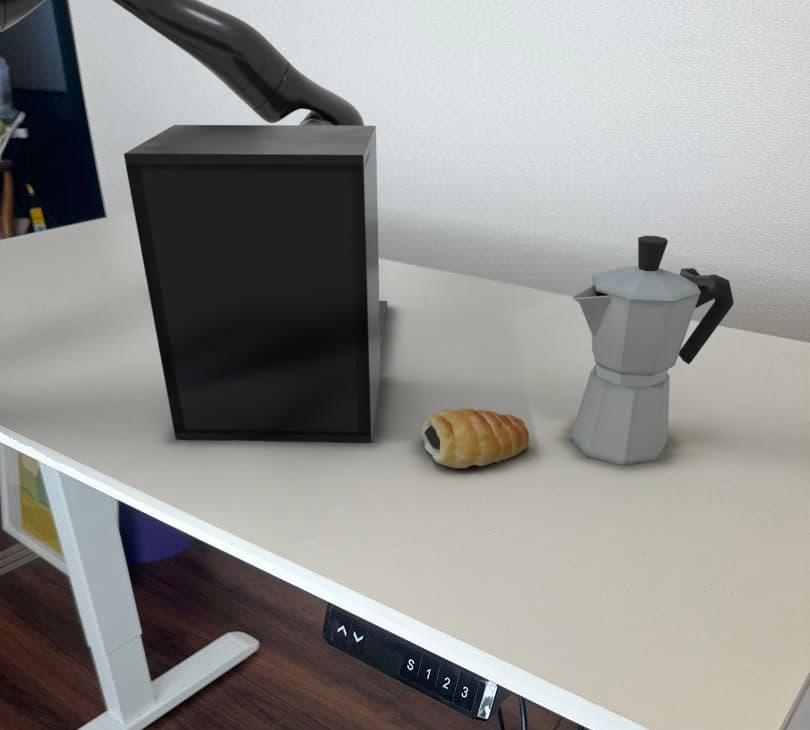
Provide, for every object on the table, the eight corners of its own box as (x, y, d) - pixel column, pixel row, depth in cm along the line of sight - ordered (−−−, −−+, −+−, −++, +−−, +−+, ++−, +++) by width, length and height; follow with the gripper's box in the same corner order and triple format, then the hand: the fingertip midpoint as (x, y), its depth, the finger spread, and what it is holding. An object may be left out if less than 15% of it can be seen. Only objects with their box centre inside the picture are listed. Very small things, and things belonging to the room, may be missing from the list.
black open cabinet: (250, 306, 104) (227, 94, 91) (391, 308, 104) (389, 94, 90) (175, 439, 75) (123, 153, 61) (371, 442, 74) (363, 154, 60)
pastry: (509, 426, 77) (512, 389, 75) (542, 460, 72) (546, 421, 69) (415, 442, 74) (415, 403, 72) (442, 478, 69) (443, 438, 67)
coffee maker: (576, 475, 69) (606, 259, 59) (534, 429, 76) (554, 229, 66) (728, 451, 73) (782, 243, 62) (675, 409, 80) (715, 216, 69)
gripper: (240, 126, 90) (205, 153, 76) (370, 127, 89) (357, 154, 76) (248, 199, 94) (216, 236, 81) (371, 200, 94) (360, 238, 80)
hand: (284, 197), depth 78 cm, fingers open, 8 cm apart
